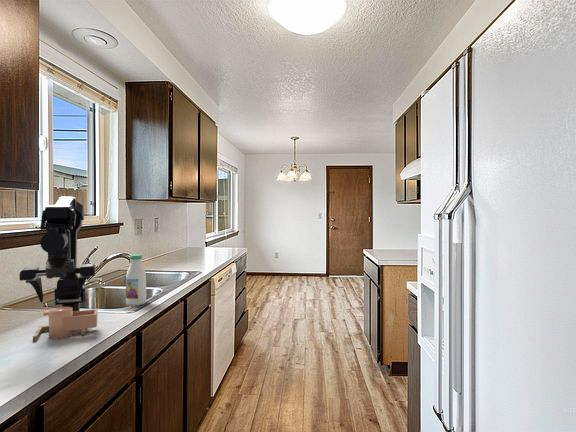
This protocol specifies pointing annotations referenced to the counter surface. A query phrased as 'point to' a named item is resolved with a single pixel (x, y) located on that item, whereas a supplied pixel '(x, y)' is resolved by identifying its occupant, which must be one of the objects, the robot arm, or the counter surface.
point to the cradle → (46, 328)
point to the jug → (69, 321)
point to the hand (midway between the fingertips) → (60, 300)
